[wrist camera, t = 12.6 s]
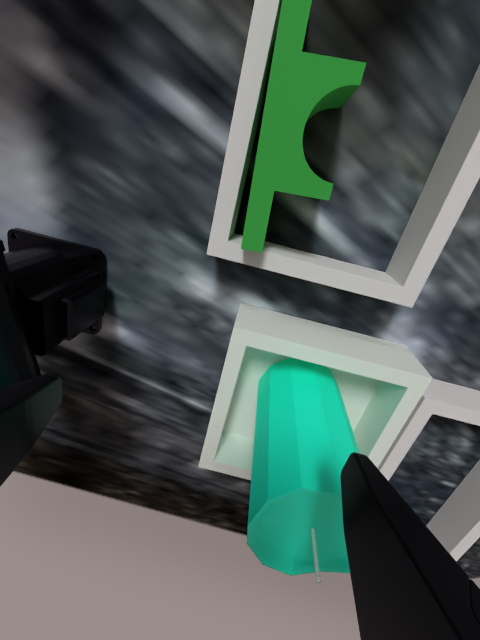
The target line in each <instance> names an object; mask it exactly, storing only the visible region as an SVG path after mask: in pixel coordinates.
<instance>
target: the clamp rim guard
mask: <svg viewBox="0 0 480 640" xmlns="http://www.w3.org/2000/svg"><path fill="white" fill-rule="evenodd" d="M281 5H282V0H255V2H254V7H253V13H252V18H251V23H250V29H249V34H248V39H247V44H246V50H245V55H244V60H243V65H242V71H241V76H240V81H239V86H238V92H237V97H236V102H235V108H234V113H233V118H232V123H231V129H230V134H229V139H228V144H227V150H226V155H225V160H224V165H223V171H222V176H221V181H220V186H219V192H218V197H217V202H216V208H215V213H214V218H213V223H212V229H211V234H210V239H209V244H208V250H207V255H211V256H215V257H219V258H223V259H227V260H230V261H234V262H238V263H242V264H246V265H250V266H254V267H257V268H261V269H265V270H269V271H273V272H277V273H281V274H284V275H288V276H292V277H296V278H300V279H304V280H307V281H311V282H315V283H319V284H323V285H327V286H331V287H334V288H338V289H342V290H346V291H350V292H354V293H358V294H361V295H365V296H369V297H373V298H377V299H381V300H385V301H388V302H392V303H396V304H400V305H404V306H408V307H411V308H412V307H413V305H414V303H415V301H416V299H417V297H418V295H419V294H420V292H421V290H422V288H423V286H424V284H425V282H426V280H427V278H428V276H429V274H430V272H431V270H432V268H433V267H434V265H435V263H436V261H437V259H438V257H439V255H440V253H441V251H442V249H443V247H444V245H445V243H446V241H447V240H448V238H449V236H450V234H451V232H452V230H453V228H454V226H455V224H456V222H457V220H458V218H459V216H460V214H461V213H462V211H463V209H464V207H465V205H466V203H467V201H468V199H469V197H470V195H471V193H472V191H473V189H474V187H475V185H476V184H477V182H478V180H479V178H480V64H479V66H478V69H477V71H476V73H475V75H474V78H473V80H472V82H471V84H470V86H469V89H468V91H467V93H466V95H465V97H464V100H463V102H462V104H461V106H460V108H459V111H458V113H457V115H456V117H455V119H454V122H453V124H452V126H451V128H450V130H449V133H448V135H447V137H446V139H445V142H444V144H443V146H442V148H441V150H440V153H439V155H438V157H437V159H436V161H435V164H434V166H433V168H432V170H431V172H430V175H429V177H428V179H427V181H426V183H425V186H424V188H423V190H422V192H421V194H420V197H419V199H418V201H417V203H416V206H415V208H414V210H413V212H412V214H411V217H410V219H409V221H408V223H407V225H406V228H405V230H404V232H403V234H402V236H401V239H400V241H399V243H398V245H397V247H396V250H395V252H394V254H393V256H392V258H391V261H390V263H389V265H388V267H387V270H386V272H381V271H378V270H374V269H370V268H366V267H362V266H358V265H355V264H351V263H347V262H343V261H339V260H335V259H332V258H328V257H324V256H320V255H316V254H312V253H308V252H305V251H301V250H297V249H293V248H289V247H285V246H282V245H278V244H274V243H270V242H266V241H264V246H263V251H262V253H260V252H255V251H250V250H244V249H241V244H242V238H243V235H239V234H235V233H234V231H235V226H236V222H237V217H238V213H239V208H240V204H241V199H242V195H243V190H244V186H245V181H246V177H247V172H248V168H249V163H250V159H251V154H252V150H253V145H254V141H255V136H256V132H257V127H258V123H259V118H260V114H261V109H262V105H263V100H264V96H265V91H266V87H267V82H268V78H269V73H270V69H271V64H272V59H273V53H274V47H275V41H276V35H277V29H278V23H279V17H280V11H281Z"/></svg>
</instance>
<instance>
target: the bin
mask: <svg viewBox="0 0 480 640" xmlns="http://www.w3.org/2000/svg"><path fill="white" fill-rule="evenodd" d="M288 358H296V359H299V360H303V361H307V362H311V363H315V364H319V365H323V366H325V367H327V368H328V369H330V370H331V372H332V374H333V376H334V378H335V380H336V382H337V384H338V386H339V389H340V392H341V396H342V399H343V402H344V405H345V408H346V411H347V414H348V418H349V421H350V424H351V427H352V430H353V433H354V436H355V440H356V443H357V446H358V449H359V452H360V454H364V455H366V456H367V457H368V458H369V459H370V460H371V461H372V462H373V464H374V465H375V466H376V467H377V468H378V466H379V465H380V463H381V461H382V460H383V458H384V457H385V455H386V453H387V452H388V450H389V448H390V447H391V445H392V444H393V442H394V440H395V439H396V437H397V435H398V434H399V432H400V431H401V429H402V427H403V426H404V424H405V422H406V421H407V419H408V418H409V416H410V414H411V413H412V411H413V409H414V408H415V406H416V405H417V403H418V401H419V400H420V398H421V396H422V395H423V393H424V392H425V390H426V388H427V387H428V385H429V384H430V382H431V380H432V379H433V378H432V377H431V376H430V375H429V373H428V372H427V371H426V370H425V368H424V367H423V366H422V365H421V363H420V362H419V361H418V360H417V358H416V357H415V356H414V355H413V354H412V352H411V351H410V350H409V349H408V347H407V346H406V345H402V344H398V343H395V342H391V341H387V340H383V339H379V338H375V337H371V336H368V335H364V334H360V333H356V332H352V331H348V330H344V329H341V328H337V327H333V326H329V325H325V324H321V323H317V322H314V321H310V320H306V319H302V318H298V317H294V316H290V315H287V314H283V313H279V312H275V311H271V310H267V309H263V308H260V307H256V306H252V305H248V304H244V303H240V306H239V310H238V313H237V317H236V321H235V324H234V328H233V332H232V336H231V340H230V344H229V348H228V351H227V355H226V359H225V363H224V367H223V371H222V375H221V379H220V383H219V387H218V391H217V395H216V399H215V403H214V407H213V411H212V414H211V418H210V422H209V426H208V430H207V434H206V438H205V442H204V446H203V450H202V454H201V458H200V462H199V466H198V467H201V468H205V469H209V470H213V471H216V472H220V473H224V474H228V475H232V476H236V477H240V478H244V479H248V480H251V475H252V462H253V449H254V436H255V423H256V410H257V397H258V384H259V379H260V378H261V377H262V375H263V374H264V373H265V372H266V370H267V369H268V368H269V367H270V365H273V364H275V363H278V362H280V361H283V360H285V359H288Z"/></svg>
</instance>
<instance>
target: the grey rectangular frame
mask: <svg viewBox="0 0 480 640" xmlns="http://www.w3.org/2000/svg"><path fill="white" fill-rule="evenodd" d="M432 414H435V415H439V416H443V417H447V418H451V419H455V420H458V421H462V422H466V423H470V424H474V425H478V426H480V391H478V390H474V389H471V388H467V387H463V386H459V385H455V384H451V383H447V382H443V381H440V380H436V379H432V380H431V382H430V384H429V385H428V387H427V388H426V390H425V392H424V393H423V395H422V396H421V398H420V400H419V401H418V403H417V405H416V406H415V408H414V409H413V411H412V413H411V414H410V416H409V418H408V419H407V421H406V422H405V424H404V426H403V427H402V429H401V431H400V432H399V434H398V435H397V437H396V439H395V440H394V442H393V444H392V445H391V447H390V448H389V450H388V452H387V453H386V455H385V457H384V458H383V460H382V461H381V463H380V465H379V466H378V469H379V471H380V472H381V473H382V474H383V475H384V477H385V478H386V479H387V480H388V481H389V479H390V478H391V476H392V475H393V473H394V472H395V470H396V469H397V467H398V466H399V464H400V462H401V461H402V459H403V458H404V456H405V455H406V453H407V452H408V450H409V449H410V447H411V446H412V444H413V443H414V441H415V440H416V438H417V437H418V435H419V433H420V432H421V430H422V429H423V427H424V426H425V424H426V423H427V421H428V420H429V418H430V417H431V415H432ZM426 526H427V528H428V529H429V530H430V531H431V532H432V533H433V535H434V536H435V537H436V538H437V539H438V541H439V542H440V543H441V544H442V545H443V546H444V548H445V549H446V550H447V551H448V552H449V554H450V555H451V556H452V557H453V558H454V559H455V561H457V560H458V559H459V558H460V557H461V556H462V555H463V554H464V553H465V552H466V551H467V550H468V549H469V548H470V547H471V546H472V544H473V543H474V542H475V541H476V540H477V539H478V538H479V537H480V460H479V461H478V462H477V463H476V465H475V466H474V467H473V468H472V469H471V471H470V472H469V473H468V474H467V476H466V477H465V478H464V479H463V481H462V482H461V483H460V484H459V486H458V487H457V488H456V489H455V490H454V492H453V493H452V494H451V495H450V497H449V498H448V499H447V500H446V502H445V503H444V504H443V505H442V507H441V508H440V509H439V510H438V512H437V513H436V514H435V515H434V516H433V518H432V519H431V520H430V521H429V523H428V524H427V525H426Z"/></svg>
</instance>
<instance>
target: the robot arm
mask: <svg viewBox="0 0 480 640" xmlns="http://www.w3.org/2000/svg"><path fill="white" fill-rule="evenodd" d="M16 234H17V235H18V239H17V237H16ZM7 236H8V247H9V253H5V254H4V253H3V252H4V251H5V248H4V245H3V241H2V240H0V486H1V485H2V484H3V483H4V481H5V480H6V479H7V478H8V477H9V475H10V474H11V473H12V472H13V470H14V469H15V468H16V467H17V466H18V464H19V463H20V462H21V461H22V460H23V458H24V457H25V456H26V454H27V453H28V452H29V451H30V449H31V448H32V446H33V445H34V444H35V442H36V441H37V439H38V438H39V436H40V435H41V433H42V432H43V430H44V429H45V427H46V426H47V424H48V423H49V421H50V420H51V418H52V417H53V415H54V414H55V412H56V411H57V409H58V408H59V406H60V404H61V402H62V379H61V377H59V376H55V375H51V374H44V375H41V373H40V369H39V366H38V363H37V360H36V356H35V354H36V355H40V356H43V355H45V354H46V353H47V352H49V351H50V350H51V349H53V348H54V347H55V346H57V345H58V344H59V343H61V342H62V341H63V340H68V341H69V340H71V339H73V338H74V337H76V336H77V335H78V334H80V333H81V332H85V333H89V334H97V333H98V332H99V331H100V330H101V323H102V316H103V315H104V310H105V290H106V284H105V282H104V259H105V258H104V254H103V252H102V251H101V250H99V249H96V248H92V247H88V246H84V245H81V244H77V243H73V242H69V241H65V240H61V239H57V238H54V237H50V236H46V235H42V234H38V233H34V232H30V231H27V230H23V229H19V228H15V229H10V230H9V231H8V234H7ZM94 254H96V255H97V256H98V260H97V259H95V257H94ZM92 326H94V327H95V329H93V328H92ZM341 495H342V512H343V527H344V536H345V543H346V549H347V555H348V562H349V568H350V574H351V580H352V586H353V593H354V599H355V605H356V611H357V618H358V624H359V630H360V637H361V640H480V589H479V588H478V587H477V585H476V584H475V583H474V582H473V581H472V580H469V576H468V575H467V574H466V573H465V571H464V570H463V569H462V568H461V567H460V565H459V564H458V563H457V562H456V561H455V559H454V558H453V557H452V556H451V555H450V554H449V552H448V551H447V550H446V549H445V548H444V546H443V545H442V544H441V543H440V542H439V541H438V539H437V538H436V537H435V536H434V535H433V533H432V532H431V531H430V530H429V529H428V528H427V526H426V525H425V524H424V523H423V522H422V520H421V519H420V518H419V517H418V516H417V514H416V513H415V512H414V511H413V510H412V509H411V507H410V506H409V505H408V504H407V503H406V501H405V500H404V499H403V498H402V497H401V496H400V494H399V493H398V492H397V491H396V490H395V488H394V487H393V486H392V485H391V484H390V483H389V481H388V480H387V479H386V478H385V477H384V475H383V474H382V473H381V472H380V471H379V469H378V468H377V467H376V466H375V465H374V464H373V462H372V461H371V460H370V459H369V458H368V457H367V456H366V455H364V454H360V453H356V452H352V453H351V454H350V456H349V457H348V459H347V461H346V463H345V465H344V467H343V468H342V471H341Z"/></svg>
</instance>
